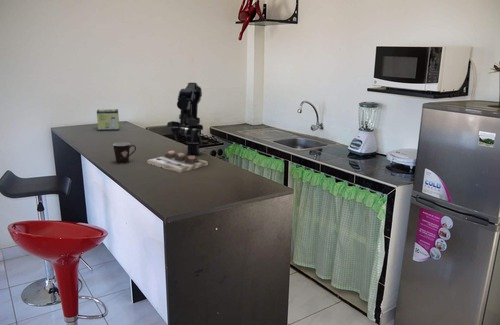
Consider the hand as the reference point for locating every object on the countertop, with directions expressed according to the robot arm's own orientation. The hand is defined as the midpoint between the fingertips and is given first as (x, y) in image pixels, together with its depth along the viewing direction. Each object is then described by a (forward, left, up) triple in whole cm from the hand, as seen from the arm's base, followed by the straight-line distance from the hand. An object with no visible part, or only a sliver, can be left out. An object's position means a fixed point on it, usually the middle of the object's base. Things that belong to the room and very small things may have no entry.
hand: (184, 142), depth 201 cm
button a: (-2, -13, -9) cm, 17 cm away
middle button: (-2, -5, -9) cm, 11 cm away
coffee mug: (+17, -29, -13) cm, 36 cm away
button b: (-2, +3, -9) cm, 10 cm away
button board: (+1, -5, -13) cm, 14 cm away
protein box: (-32, -120, -13) cm, 125 cm away
